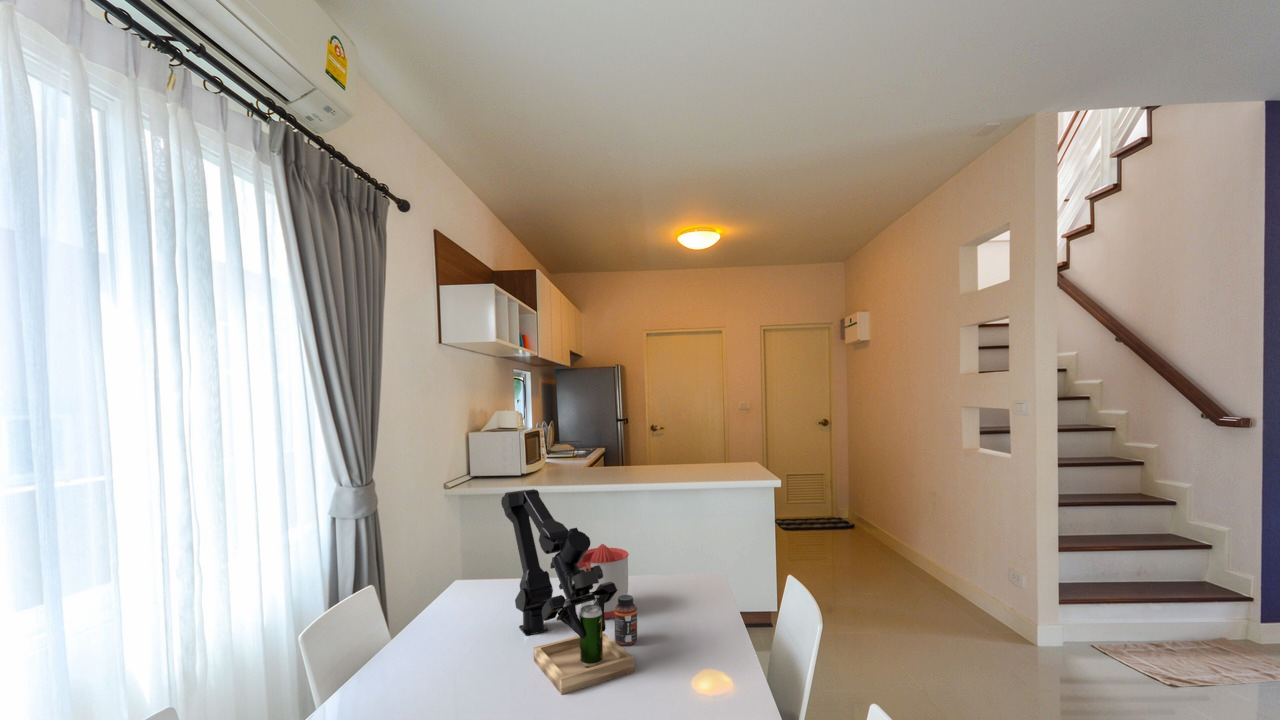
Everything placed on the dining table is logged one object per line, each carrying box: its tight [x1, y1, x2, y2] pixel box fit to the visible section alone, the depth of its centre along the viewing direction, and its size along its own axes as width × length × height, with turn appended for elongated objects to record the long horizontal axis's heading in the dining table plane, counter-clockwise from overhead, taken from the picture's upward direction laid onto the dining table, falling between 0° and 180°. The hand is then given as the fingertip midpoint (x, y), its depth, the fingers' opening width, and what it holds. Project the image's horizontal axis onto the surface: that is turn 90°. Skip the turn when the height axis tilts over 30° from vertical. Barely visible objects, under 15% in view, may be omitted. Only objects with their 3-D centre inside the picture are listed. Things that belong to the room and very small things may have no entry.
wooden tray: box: [533, 631, 635, 695], centre depth 128 cm, size 18×18×3 cm
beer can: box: [579, 605, 603, 666], centre depth 127 cm, size 5×5×12 cm
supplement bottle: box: [614, 594, 638, 647], centre depth 141 cm, size 6×6×11 cm
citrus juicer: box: [578, 543, 630, 619], centre depth 161 cm, size 16×17×20 cm
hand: (594, 634), depth 126 cm, fingers closed on beer can, 5 cm apart
